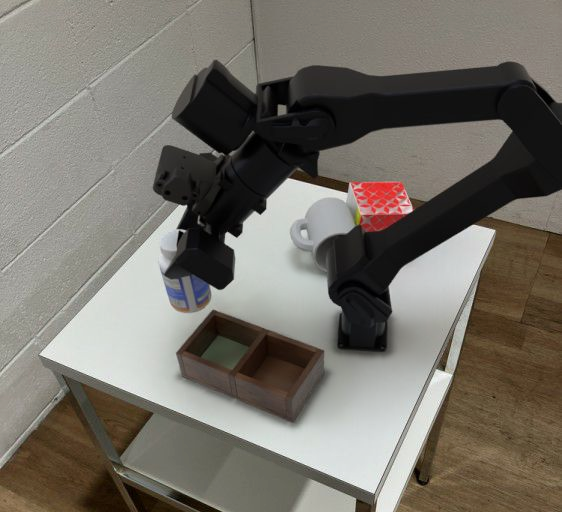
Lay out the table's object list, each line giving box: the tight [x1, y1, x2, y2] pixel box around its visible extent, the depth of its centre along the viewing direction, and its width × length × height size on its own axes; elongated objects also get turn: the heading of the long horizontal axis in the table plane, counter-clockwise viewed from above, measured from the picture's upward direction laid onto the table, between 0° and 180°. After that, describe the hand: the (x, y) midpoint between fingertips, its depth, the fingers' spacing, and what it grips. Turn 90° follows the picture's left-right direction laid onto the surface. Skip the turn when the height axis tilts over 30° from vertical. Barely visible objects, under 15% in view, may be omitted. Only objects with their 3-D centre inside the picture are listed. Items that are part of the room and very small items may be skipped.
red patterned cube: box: [345, 181, 415, 232], centre depth 94 cm, size 8×8×8 cm
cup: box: [289, 197, 356, 273], centre depth 94 cm, size 7×10×9 cm
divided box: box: [175, 309, 325, 423], centre depth 80 cm, size 16×9×5 cm, turn 61°
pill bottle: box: [158, 229, 212, 314], centre depth 77 cm, size 5×5×10 cm
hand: (170, 260), depth 76 cm, fingers closed on pill bottle, 5 cm apart
